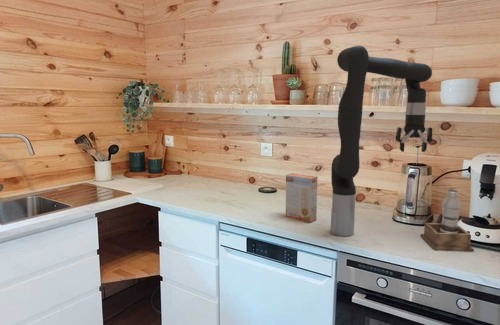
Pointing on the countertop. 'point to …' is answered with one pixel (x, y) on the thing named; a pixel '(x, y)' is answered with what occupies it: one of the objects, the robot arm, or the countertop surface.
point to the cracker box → (301, 197)
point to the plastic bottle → (450, 212)
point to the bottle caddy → (446, 238)
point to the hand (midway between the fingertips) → (412, 151)
